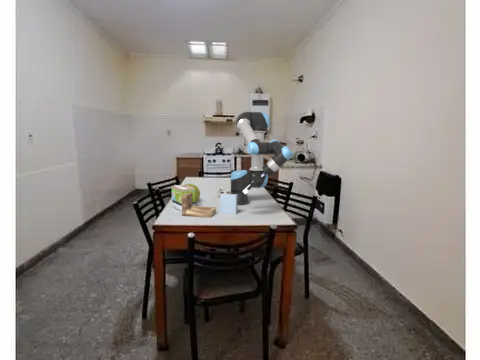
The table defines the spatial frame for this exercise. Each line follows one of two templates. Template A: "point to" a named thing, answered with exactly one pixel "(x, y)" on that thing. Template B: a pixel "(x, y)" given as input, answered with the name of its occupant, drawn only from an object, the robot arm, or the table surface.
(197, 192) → the fruit
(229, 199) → the pale blue rectangular block
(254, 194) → the table surface
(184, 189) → the tea box
